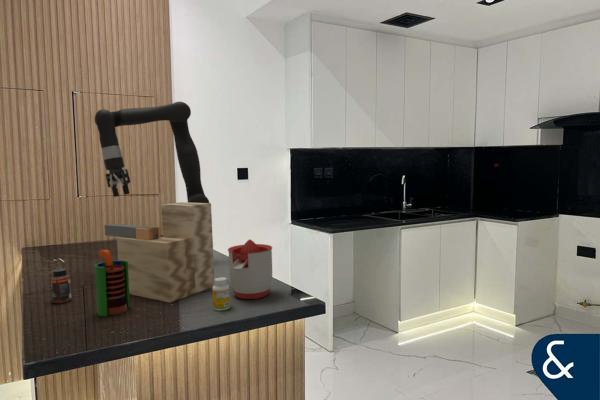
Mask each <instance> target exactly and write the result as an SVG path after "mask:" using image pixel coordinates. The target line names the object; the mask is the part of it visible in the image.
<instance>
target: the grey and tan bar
mask: <svg viewBox="0 0 600 400" xmlns="http://www.w3.org/2000/svg"><path fill="white" fill-rule="evenodd" d="M161 231H162V230H161V226H151V225H147V226H146V225H135V224H134V225H133V224H121V223H108V224H104V235H105V236H108V237H116V238H119V237H126V238H135V239H138V240H152V239H157V238H161V237H162V232H161Z"/></svg>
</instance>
